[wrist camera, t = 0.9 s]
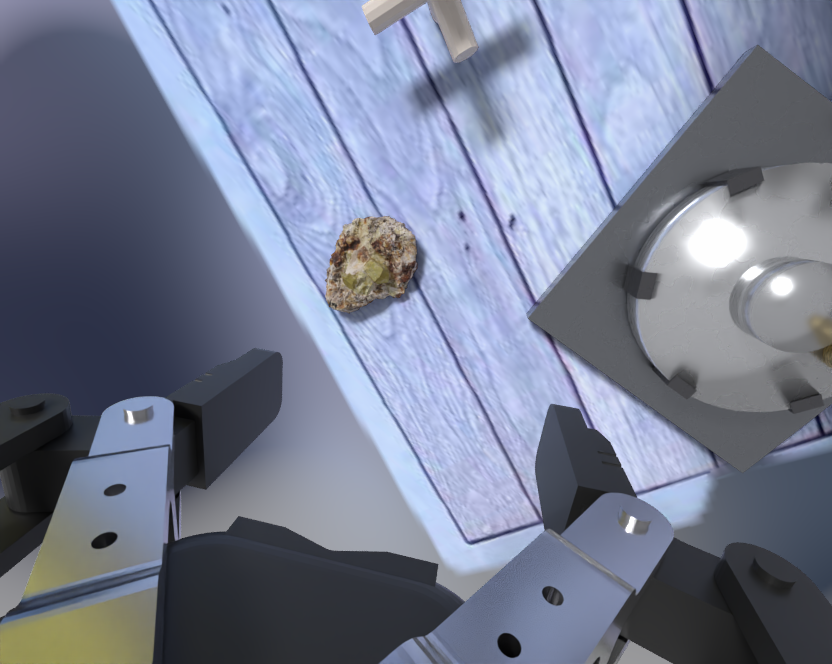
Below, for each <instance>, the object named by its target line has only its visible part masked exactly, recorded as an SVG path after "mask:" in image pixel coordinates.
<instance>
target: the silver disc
mask: <svg viewBox="0 0 832 664" xmlns="http://www.w3.org/2000/svg"><path fill="white" fill-rule="evenodd" d="M704 185H705V187H704V188H702V189H700V190H699V191H697V192H696V193H694V194H693V195H691V196H690V197H688V198H686V199H685V200H684V201H683V202H681V203H680V204H679V205H678V206H677V207H675V208H674V209H673V210H672V211H671V212H670V213H669V214H668V215H667V216H666V217H665V218H664V219H663V220H662V221H661V222H660V223H659V224H658V225H657V227H656V228H655V229H654V231H653V232H652V233H651V234H650V236H649V237H648V239H647V240H646V242H645V244H644V245H643V247H642V249H641V250H640V253H639V255H638V257H637V259H636V261H635V263H634V266H630V265H629V267H628V271H627V276H626V280H625V284H624V288H623V290H624V291H626V292H627V309H628V318H629V322H630V326H631V330H632V333H633V335H634V337H635V339H636V342H637V344H638V346H639V347H640V349H641V350H642V352H643V353H644V355H645V356H646V357H647V358H648V359H649V361H650V362H651V363H652V364H653V365H654V366H655V367H654V368H653V369H652V370H653V371H654V372H655V373H656V374H657V375H658V376H659V377H660V378H661V380H662V381H663V382H664V383H665V384H666V385H667V386H669V387H670V388H671V389H673V390H674V391H676V392H677V393H678V394H680V395H681V396H683V397H684V398H685V399H689V398H690V397H693V398H696V399H698V400H700V401H702V402H704V403H707V404H710V405H714V406H717V407H720V408H725V409H730V410H735V411H746V412H772V411H780V410H789V411H790V412H791V413H793V414H796V413H800V412H803V411H807V410H811V409H814V408H818V407H821V406H824V403H823V400H824V399H826V398H828V397H831V396H832V164H831V163H799V164H790V165H782V166H773V167H765V168H761V166H757V167H748V168H740V169H733V170H731V171H728V172H726V173H724V174H722V175H719V176H717V177H715V178H712V179H710V180H708V181H705V182H704Z"/></svg>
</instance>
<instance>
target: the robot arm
mask: <svg viewBox="0 0 832 664" xmlns="http://www.w3.org/2000/svg"><path fill="white" fill-rule="evenodd" d="M282 365H283V362H282V356H281V354H280V353H279V352H274V351H269V350H263V349H257V348H254V349H252V350H250V351H249V352H247V353H246V354H244V355H243V356H241V357H240V358H238V359H236V360H233V361H230V362H227V363H224V364H221V365H218V366H216V367H214V368H213V369H211V370H210V371H208V372H206V374H205V375H201V376H200V377H198V378H196V380H195V381H192V382H190V383H188V384H187V385H185V386H184V387H182V388H180V389H179V390H177V391H175V392H174V393H172V394H170V395H169V396H167V397H166V398H161V397H137V398H132V399H128V400H124V401H121V402H118V403H116V404H114V405H112V406H110V407H109V408H108V409H106V410H105V411H104V412H103V414H102V416H72V415H71V409H70V403H69V400H68V399H67V398H66V397H64V396H62V395H58V394H34V395H27V396H23V397H18V398H14V399H11V400H8V401H5V402H2V403H0V477H1V481H2V485H3V489H4V493H5V496H4V497H3V498H1V499H0V577H1V576H3V575H4V574H5V573H6V572H8V571H9V570H10V569H11V568H12V567H14V566H15V565H16V564H17V563H18V562H20V561H21V560H22V559H23V558H25V557H26V556H27V555H28V554H29V553H31V552H32V551H33V550H34V549H35V548H37V547H38V546H39V545H40V544H41V543H42V545H41V548H40V551H39V553H38V557H37V559H36V561H35V564H34V567H33V570H32V572H31V575H30V578H29V581H28V583H27V586H26V589H25V591H24V594H23V596H22V599H21V601H20V603H19V604H18V605H17V606H16V608H13V609H12V610H10V611H9V612H8V613H7V614H6V615H5V616H3V617H1V618H0V664H617V663H618V661H619V659H620V658H621V656H622V654H623V653H624V651H625V649H626V647H627V646H628V644H629V642H630V641H632V642H634V643H636V644H638V645H640V646H642V647H643V648H645V649H647V650H649V651H651V652H653V653H654V654H656V655H658V656H660V657H662V658H664V659H666V660H667V661H669V662H671V663H673V664H832V606H831V604H830V603H829V602H828V600H827V599H826V598H825V596H824V595H823V594H822V593H821V591H820V590H819V589H818V588H817V586H816V585H815V584H814V583H813V582H812V581H811V579H809V578H808V577H807V576H806V575H805V574H804V573H803V572H802V571H801V570H799V569H798V568H797V567H795V566H794V565H792V564H791V563H790V562H788V561H787V560H785V559H783V558H782V557H780V556H778V555H776V554H774V553H772V552H770V551H768V550H766V549H764V548H761V547H758V546H755V545H752V544H747V543H731V544H729V545H728V546H727V547H726V548H725V550H724V552H723V554H722V556H721V558H719V557H717V556H714V555H712V554H710V553H707V552H705V551H702V550H700V549H698V548H695V547H693V546H691V545H688V544H686V543H684V542H682V541H680V540H678V539H676V538H674V531H673V528H672V526H671V524H670V523H669V521H668V520H667V519H666V517H665V516H664V515H663V514H662V513H660V512H659V511H658V510H657V509H656V508H654V507H653V506H651V505H650V504H648V503H646V502H645V501H643V500H641V499H638V498H637V496H636V494H635V492H634V490H633V488H632V486H631V484H630V482H629V480H628V478H627V476H626V474H625V472H624V470H623V468H621V463H620V461H619V459H618V457H616V453H615V451H614V449H613V447H612V445H611V443H610V442H609V441H608V440H607V439H606V438H605V437H604V436H603V435H602V434H601V433H600V432H599V431H597V430H594V429H589V428H587V426H586V423H585V421H584V419H583V416H582V414H581V412H580V410H579V409H577V408H571V407H566V406H561V405H555V404H551V405H550V406H549V409H548V412H547V415H546V419H545V423H544V427H543V431H542V435H541V439H540V442H539V446H538V450H537V455H536V463H535V474H536V480H537V486H538V493H539V499H540V505H541V511H542V517H543V523H544V529H545V531H544V532H543V533H541V534H540V535H539V536H538V537H537V538H536V539H535V540H534V541H533V542H531V543H530V544H529V545H528V546H527V547H526V548H525V549H524V550H523V551H521V552H520V553H519V554H518V555H517V556H516V557H515V558H514V559H513V560H511V561H510V562H509V563H508V564H507V565H506V566H505V567H504V568H502V569H501V570H500V571H499V572H498V573H497V574H496V575H495V576H494V577H492V578H491V579H490V580H489V581H488V582H487V583H486V584H485V585H484V586H482V588H480V589H479V590H478V591H477V592H476V593H475V594H474V595H473V596H472V597H470V598H469V599H468V600H467V601H466V602H465V601H463V600H462V599H461V598H460V597H458V596H457V595H456V594H455V593H453V592H452V591H450V590H449V589H447V588H446V587H444V586H442V585H440V584H438V583H436V577H437V569H438V564H435V563H431V562H427V561H423V560H419V559H415V558H411V557H406V556H402V555H398V554H393V553H390V552H368V551H332V550H328V549H326V548H324V547H322V546H320V545H318V544H316V543H314V542H312V541H310V540H308V539H307V538H305V537H303V536H301V535H299V534H297V533H295V532H293V531H291V530H289V529H287V528H286V527H282V526H277V525H273V524H269V523H265V522H261V521H257V520H252V519H248V518H244V517H240V516H238V518H237V519H236V520H235V521H234V523H233V524H232V525H231V526H230V528H229V529H228V530H227V531H226V532H211V533H204V534H198V535H193V536H189V537H185V538H182V539H181V493H180V490H181V489H182V488H183V487H184V486H185V485H189V486H193V487H197V488H202V489H207V488H208V487H209V486H210V485H211V484H212V483H213V482H214V481H215V480H216V479H217V478H218V477H219V476H220V475H221V474H222V473H223V472H224V471H225V470H226V468H228V467H229V465H230V464H231V463H232V462H233V461H234V460H235V459H236V458H237V457H238V456H239V455H240V454H241V453H242V452H243V451H244V450H245V449H246V448H247V447H248V446H249V445H250V444H251V443H252V442H253V441H254V440H255V439H256V438H257V437H258V435H260V434H261V433H262V432H263V431H264V429H265V428H266V427H267V426H268V425H269V424H270V423H271V422H272V421H273V420H274V419H275V418H276V416H277V415H278V412H279V410H280V407H281V402H282Z"/></svg>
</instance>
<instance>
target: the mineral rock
mask: <svg viewBox="0 0 832 664" xmlns="http://www.w3.org/2000/svg"><path fill="white" fill-rule="evenodd" d="M416 254H417V249H416V239H415V236H414V235H413V234H412V233H411V231H409V230H408V229H407V228H406V227H405V224H404V223H401V222H397V221H396V220H395V219H393V218H391V217H389V216H383V217H378V218H375V217H372V216H371V217H366V218H365V219H361V218H356V219H354V220H353V221H352V223H351V224H345V225H344V226H343V231H342V233H341V235H340V238H339V240H337V243H336V251H335V252H334V253H333V254H332V255H331V256H332V258H331V259H330V267H329V268H328V269H327V279H326V280H325V281H326V282H327V285H326V288H327V291H326V295H325V297H326V300H327V302H328V304H329V307H331V308H333V309H334V310H338V311H341V312H347V313H349V314H350V312H354V311H356V310H358V309H359V308H360V307H363V306H366V305H367V304H368V303H371V302H372V301H373V300H374V299H376V298H377V299H384V298H386V297H387V296H390V295H391V296H393V298H395V297H397V298H400V296H401V294H404V291H405V288H407V284H408V282H409V280H410V279H411V278H412V276H413V274H414V272H415V271H416V269H417V266H418V264H417V262H416Z"/></svg>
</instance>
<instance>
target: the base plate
mask: <svg viewBox="0 0 832 664" xmlns="http://www.w3.org/2000/svg"><path fill="white" fill-rule="evenodd" d="M799 163H831V164H832V102H831V101H829V100H828V99H827V98H826V97H824V96H823V95H822V94H820V93H819V92H818V91H817V90H815V89H814V88H813V87H811V86H810V85H809V84H808V83H806V82H805V81H804V80H802V79H801V78H800V77H799V76H797V75H796V74H795V73H793V72H792V71H791V70H790V69H788V68H787V67H786V66H784V65H783V64H782V63H781V62H779V61H778V60H777V59H775V58H774V57H773V56H772V55H770V54H769V53H768V52H766V51H765V50H764V49H763V48H761V47H760V46H759V45H757V46H755V47H753V48H752V49H750V50H748V51H746V52H745V53H744V54H743V55H742V56H741V58H740V59H739V60H738V61H737V62H736V64H735V65H734V66H733V67H732V68H731V70H730V71H729V72H728V73H727V74H726V76H725V77H724V78H723V79H722V80H721V82H720V83H719V84H718V85H717V86H716V88H715V89H714V90H713V91H712V92H711V93H710V95H709V96H708V97H707V98H706V99H705V101H704V102H703V103H702V104H701V105H700V107H699V108H698V109H697V110H696V111H695V113H694V114H693V115H692V116H691V117H690V119H689V120H688V121H687V122H686V123H685V125H684V126H683V127H682V128H681V129H680V131H679V132H678V133H677V134H676V135H675V137H674V138H673V139H672V140H671V141H670V143H669V144H668V145H667V146H666V147H665V149H664V150H663V151H662V152H661V153H660V155H659V156H658V157H657V158H656V159H655V160H654V162H653V163H652V164H651V165H650V166H649V168H648V169H647V170H646V171H645V172H644V174H643V175H642V176H641V177H640V178H639V180H638V181H637V182H636V183H635V184H634V186H633V187H632V188H631V189H630V190H629V192H628V193H627V194H626V195H625V196H624V198H623V199H622V200H621V201H620V202H619V204H618V205H617V206H616V207H615V208H614V210H613V211H612V212H611V213H610V214H609V216H608V217H607V218H606V219H605V220H604V222H603V223H602V224H601V225H600V226H599V227H598V229H597V230H596V231H595V232H594V233H593V235H592V236H591V237H590V238H589V239H588V241H587V242H586V243H585V244H584V245H583V247H582V248H581V249H580V250H579V251H578V253H577V254H576V255H575V256H574V257H573V259H572V260H571V261H570V262H569V263H568V265H567V266H566V267H565V268H564V269H563V271H562V272H561V273H560V274H559V275H558V277H557V278H556V279H555V280H554V281H553V283H552V284H551V285H550V286H549V287H548V288H547V290H546V291H545V292H544V293H543V294H542V296H541V297H540V298H539V299H538V300H537V302H536V303H535V304H534V305H533V306H532V308H531V309H530V310H529V311H528V312H527V317H528V319H529V320H531V321H532V322H534V323H535V324H536V325H538V326H539V327H541V328H542V329H543V330H545V331H546V332H548V333H549V334H550V335H552V336H553V337H554V338H556V339H557V340H559V341H560V342H561V343H563V344H564V345H566V346H567V347H568V348H570V349H571V350H572V351H574V352H575V353H577V354H578V355H579V356H581V357H582V358H584V359H585V360H586V361H588V362H589V363H590V364H592V365H593V366H595V367H596V368H597V369H599V370H600V371H602V372H603V373H604V374H606V375H607V376H609V377H610V378H611V379H613V380H614V381H615V382H617V383H618V384H620V385H621V386H622V387H624V388H625V389H627V390H628V391H629V392H631V393H632V394H633V395H635V396H636V397H638V398H639V399H640V400H642V401H643V402H645V403H646V404H647V405H649V406H650V407H652V408H653V409H654V410H656V411H657V412H658V413H660V414H661V415H663V416H664V417H665V418H667V419H668V420H670V421H671V422H672V423H674V424H675V425H676V426H678V427H679V428H681V429H682V430H683V431H685V432H686V433H688V434H689V435H690V436H692V437H693V438H695V439H696V440H697V441H699V442H700V443H701V444H703V445H704V446H706V447H707V448H708V449H710V450H711V451H713V452H714V453H715V454H717V455H718V456H719V457H721V458H722V459H724V460H725V461H726V462H728V463H729V464H731V465H732V466H733V467H735V468H736V469H737V470H739V471H740V472H742V473H743V472H745V471H746V470H747V469H749V468H750V467H751V466H753V465H754V464H755V463H756V462H758V461H759V460H760V459H762V458H763V457H764V456H765V455H767V454H768V453H769V452H771V451H772V450H773V449H774V448H776V447H777V446H778V445H780V444H781V443H782V442H783V441H785V440H786V439H787V438H789V437H790V436H791V435H792V434H794V433H795V432H796V431H798V430H799V429H800V428H801V427H803V426H804V425H805V424H807V423H808V422H809V421H810V420H812V419H813V418H814V417H816V416H817V415H818V414H819V413H821V412H822V411H823V410H825V409H826V408H827V407H828V406H830V405H831V404H832V396H831V397H828V398H826V399H824V400H823V403H824V406H821V407H818V408H814V409H811V410H807V411H803V412H800V413H796V414H793V413H791V412H790V411H789V410H780V411H772V412H746V411H735V410H730V409H725V408H720V407H717V406H714V405H710V404H707V403H704V402H702V401H700V400H698V399H696V398H693V397H690V398H689V399H685V398H684V397H683V396H681V395H680V394H678V393H677V392H676V391H674V390H673V389H671V388H670V387H669V386H667V385H666V384H665V383H664V382H663V381H662V380H661V378H660V377H659V376H658V375H657V374H656V373H655V372H654V371H653V370H652V369H653V368H654V367H655V366H654V365H653V364H652V363H651V362H650V361H649V359H648V358H647V357H646V356H645V355H644V353H643V352H642V350H641V349H640V347H639V346H638V344H637V342H636V339H635V337H634V335H633V333H632V330H631V326H630V322H629V318H628V309H627V292H626V291H624V290H623V288H624V284H625V280H626V276H627V271H628V267H629V265H630V266H634V263H635V261H636V259H637V257H638V255H639V253H640V250H641V249H642V247H643V245H644V244H645V242H646V240H647V239H648V237H649V236H650V234H651V233H652V232H653V231H654V229H655V228H656V227H657V225H658V224H659V223H660V222H661V221H662V220H663V219H664V218H665V217H666V216H667V215H668V214H669V213H670V212H671V211H672V210H673V209H674V208H675V207H677V206H678V205H679V204H680V203H681V202H683V201H684V200H685V199H686V198H688V197H690V196H691V195H693V194H694V193H696V192H697V191H699V190H700V189H702V188H704V187H705V185H704V182H705V181H708V180H710V179H712V178H715V177H717V176H719V175H722V174H724V173H726V172H728V171H731V170H733V169H740V168H748V167H757V166H761V168H765V167H773V166H782V165H790V164H799Z"/></svg>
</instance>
